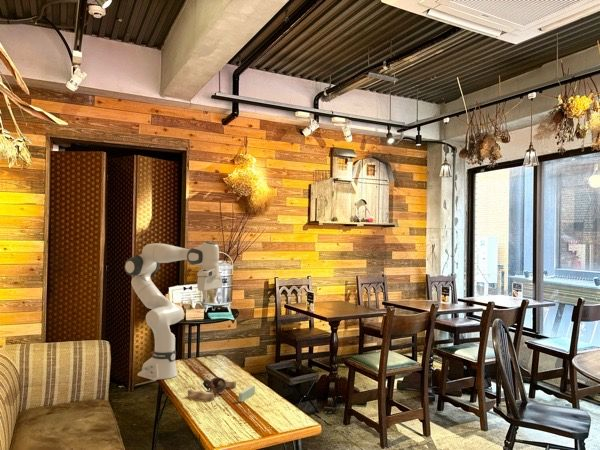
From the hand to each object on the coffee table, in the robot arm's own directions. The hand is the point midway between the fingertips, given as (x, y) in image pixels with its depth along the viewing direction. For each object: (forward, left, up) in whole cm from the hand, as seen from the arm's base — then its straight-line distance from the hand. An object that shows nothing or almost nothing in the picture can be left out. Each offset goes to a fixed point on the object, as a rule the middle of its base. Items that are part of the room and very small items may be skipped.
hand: (210, 297), depth 245 cm
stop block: (+29, -10, -46) cm, 55 cm away
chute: (+9, -10, -46) cm, 48 cm away
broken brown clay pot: (+10, -10, -46) cm, 48 cm away
